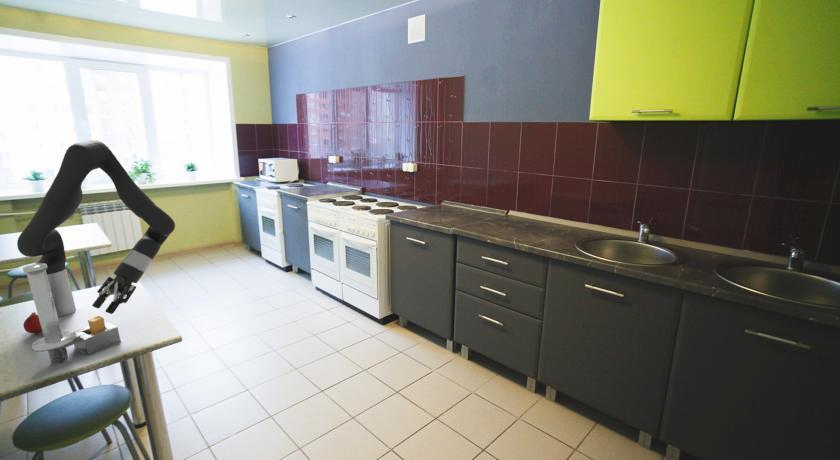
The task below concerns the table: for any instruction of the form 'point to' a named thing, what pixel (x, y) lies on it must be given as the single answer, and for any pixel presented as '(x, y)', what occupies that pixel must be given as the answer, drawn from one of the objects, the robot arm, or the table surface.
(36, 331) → the pomegranate
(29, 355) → the table surface
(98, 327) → the orange block
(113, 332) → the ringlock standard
